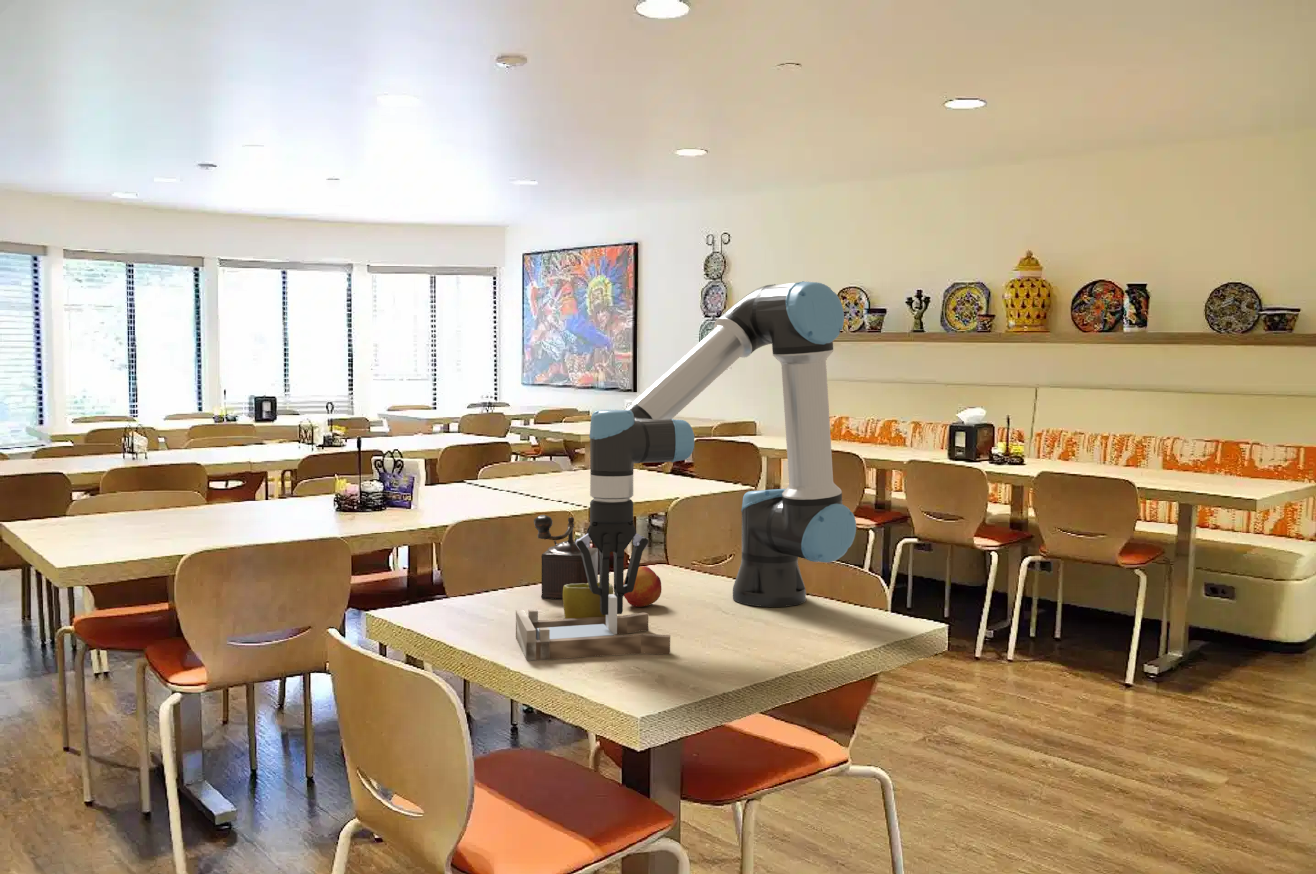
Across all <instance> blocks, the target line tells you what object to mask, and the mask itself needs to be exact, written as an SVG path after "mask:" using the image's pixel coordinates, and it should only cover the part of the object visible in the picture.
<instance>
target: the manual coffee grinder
mask: <svg viewBox="0 0 1316 874" xmlns="http://www.w3.org/2000/svg"><path fill="white" fill-rule="evenodd" d="M567 521H568V523H567V529H566V531H565V532H564V533H563V534H560V535H552V534H551V532H550V529H551V527H552V526H553V522H554V521H553V519H552V517H551V516H549V515H547V514H546V515H545V514H541V515H538V516H536V517H535V518H534V519H533V523H534V524H533V525H534V528H535V529H537V531H538V532H537V538H538V539H542V540H551V541H553V543H554V546H553V545H552V546H549V547H548V548H547V550H546V551H544V552H543V553H542V554H541V595H540V598H542V599H548V600H559V601H560V600H562V601H563V587H564V585H567V584H581V583H585V584H586V583H588V580H587V576H586V572H585V568H584V564H583V560H582V556H581V552H580V550H579V549H578V547H577V546H576V544H575V540H574V534H573V533H574V528H575V523H574V522H575V518H574V517H573V516H569V517H568V519H567ZM567 537H568V539H567V540H565V541H561V542H559V543H557V541H560V540H564V539H565V538H567ZM588 550H589V552H590V555H591V560H592V564H593V568H594V572H595V576H596V580H597V583H598V582H599V550H598V549H597V547H589V548H588Z"/></svg>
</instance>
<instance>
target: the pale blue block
mask: <svg viewBox="0 0 1316 874" xmlns="http://www.w3.org/2000/svg"><path fill="white" fill-rule="evenodd" d="M546 628H547V627H546ZM548 628H549V630H550V639H560V638H578V637H595V636H612V635H615V634H613V633H612V632H611V631H610V630H609V629H608V628H607V627H606V626H605V625H604V624H594V625H578V626H562V627H548ZM536 640H539V628H537V639H536Z"/></svg>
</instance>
